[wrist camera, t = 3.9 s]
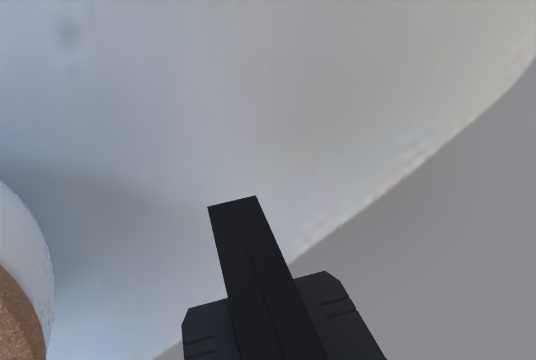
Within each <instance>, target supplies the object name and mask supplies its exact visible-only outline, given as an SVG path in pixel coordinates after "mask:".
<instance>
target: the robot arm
mask: <svg viewBox="0 0 536 360" xmlns="http://www.w3.org/2000/svg"><path fill="white" fill-rule="evenodd" d="M207 208H208V212H209V217H210V221H211V225H212V230H213V234H214V238H215V243H216V247H217V252H218V256H219V260H220V265H221V269H222V273H223V278H224V282H225V286H226V291H227V295H228V298H226V299H222V300H218V301H215V302H211V303H207V304H203V305H200V306H196V307H192V308H189V309H188V311H187V313H186V316H185V318H184V321H183V323H182V325H181V327H182V339H183V351H184V359H185V360H387V359H386V358H385V357H384V355H383V353H382V351H381V350H380V348H379V346H378V345H377V343H376V341H375V340H374V338H373V336H372V334H371V333H370V331H369V329H368V328H367V326H366V325H365V323H364V321H363V319H362V318H361V316H360V314H359V312H358V311H357V310H356V307H355V306H354V304H353V302H352V300H351V299H349V295H348V294H347V292H346V291H345V289H344V287H343V285H342V284H341V282H340V281H339V280H338V279H336V278H335V277H333V276H332V275H330V274H329V273H327V272H326V271H322V272H318V273H315V274H311V275H307V276H303V277H299V278H296V279H293V278H292V276H291V273H290V271H289V269H288V267H287V265H286V262H285V260H284V258H283V256H282V253H281V251H280V249H279V247H278V244H277V242H276V240H275V238H274V235H273V233H272V231H271V229H270V226H269V224H268V222H267V220H266V217H265V215H264V213H263V211H262V208H261V206H260V204H259V202H258V199H257V197H256V195H255V196H251V197H247V198H242V199H238V200H234V201H230V202H225V203H221V204H217V205H213V206H209V207H207Z"/></svg>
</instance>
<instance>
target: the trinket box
mask: <svg viewBox="0 0 536 360" xmlns="http://www.w3.org/2000/svg"><path fill="white" fill-rule="evenodd" d="M54 291H55V283H54V274H53V267H52V261H51V256H50V251H49V248H48V246H47V243H46V241H45V238H44V236H43V233H42V231H41V229H40V227H39V225H38V223H37V221H36V220H35V218H34V216H33V215H32V213H31V212H30V210H29V208H28V207H27V206H26V205H25V204H24V203H23V201H22V200H21V199H20V198H19V197H18V196H17V195H16V193H15V192H14V191H12V190H11V189H10V188H9V187H8V186H7V185H5V184H4V183H3V182H2V181H1V180H0V360H46V353H47V349H48V345H49V340H50V335H51V330H52V325H53V314H54Z"/></svg>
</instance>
